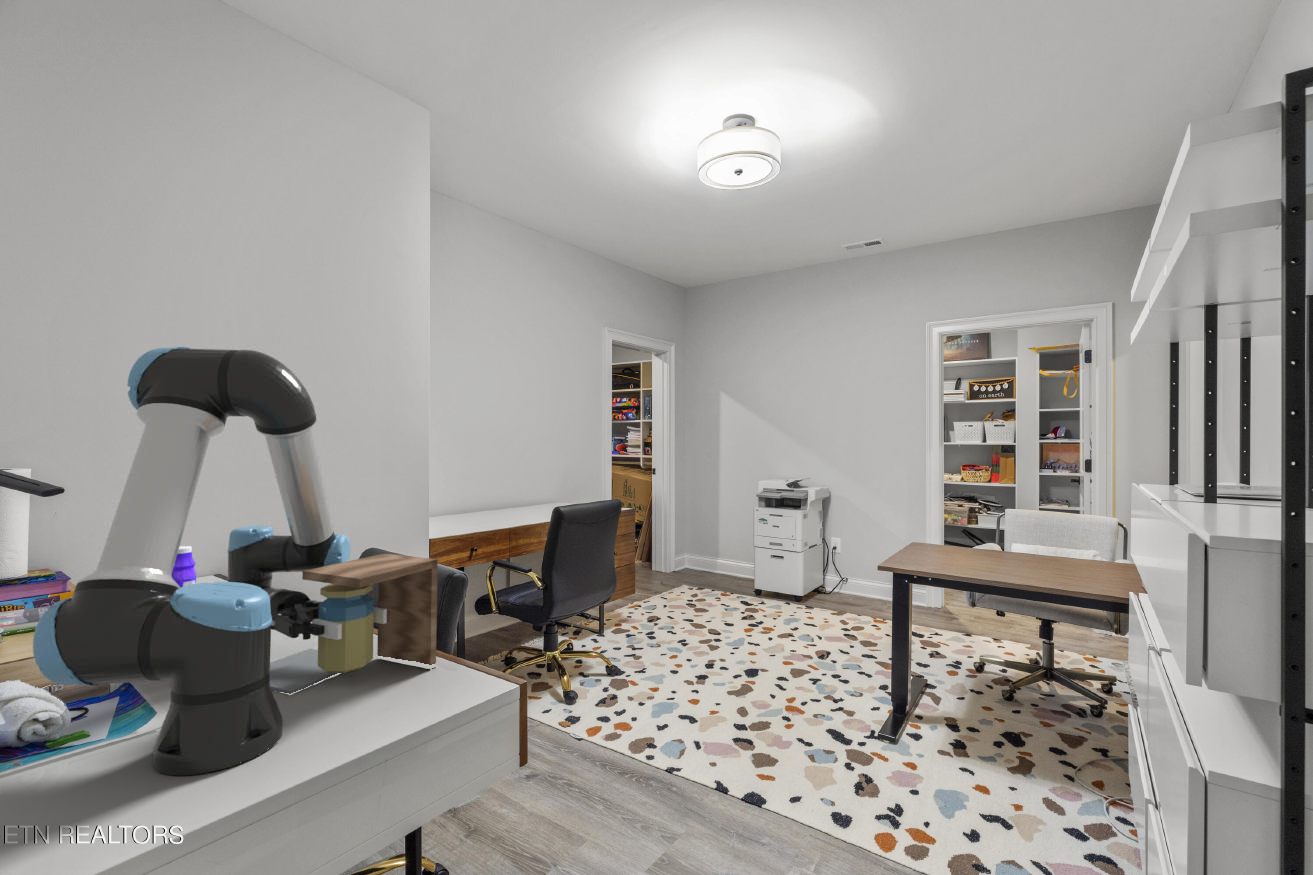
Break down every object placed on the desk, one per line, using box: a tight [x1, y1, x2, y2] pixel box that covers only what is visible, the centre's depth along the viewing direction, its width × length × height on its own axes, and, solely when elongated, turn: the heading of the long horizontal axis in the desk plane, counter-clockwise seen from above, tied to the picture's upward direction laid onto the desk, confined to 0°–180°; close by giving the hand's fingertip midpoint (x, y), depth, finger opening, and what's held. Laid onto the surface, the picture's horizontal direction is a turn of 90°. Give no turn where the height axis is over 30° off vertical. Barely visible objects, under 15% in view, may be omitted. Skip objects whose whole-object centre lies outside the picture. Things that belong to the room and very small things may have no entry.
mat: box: [270, 648, 337, 694], centre depth 113 cm, size 16×16×1 cm
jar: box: [317, 583, 375, 674], centre depth 110 cm, size 9×9×15 cm
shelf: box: [301, 553, 439, 665], centre depth 110 cm, size 14×18×22 cm
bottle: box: [171, 545, 198, 588], centre depth 147 cm, size 7×6×17 cm
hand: (363, 623), depth 108 cm, fingers closed on jar, 9 cm apart
